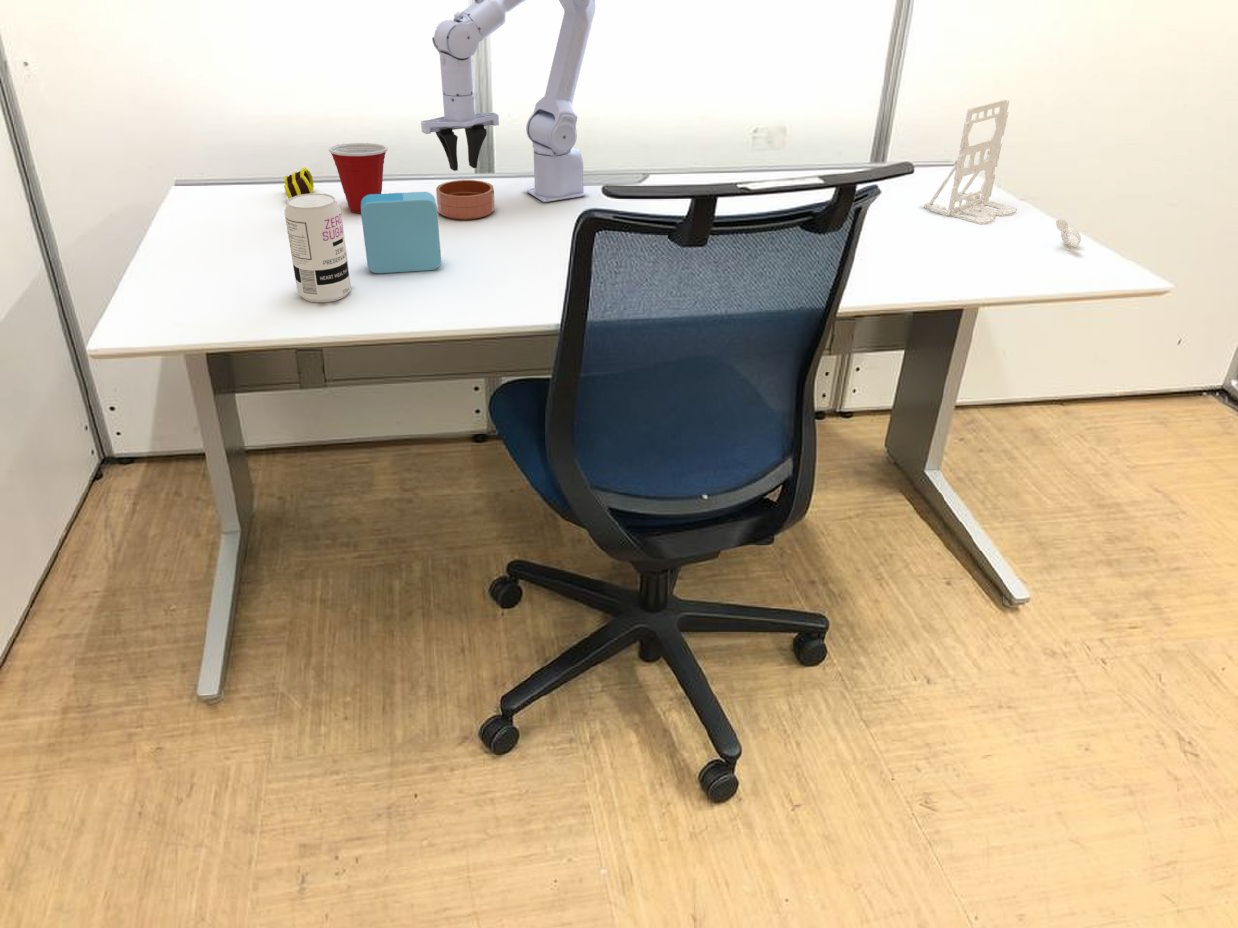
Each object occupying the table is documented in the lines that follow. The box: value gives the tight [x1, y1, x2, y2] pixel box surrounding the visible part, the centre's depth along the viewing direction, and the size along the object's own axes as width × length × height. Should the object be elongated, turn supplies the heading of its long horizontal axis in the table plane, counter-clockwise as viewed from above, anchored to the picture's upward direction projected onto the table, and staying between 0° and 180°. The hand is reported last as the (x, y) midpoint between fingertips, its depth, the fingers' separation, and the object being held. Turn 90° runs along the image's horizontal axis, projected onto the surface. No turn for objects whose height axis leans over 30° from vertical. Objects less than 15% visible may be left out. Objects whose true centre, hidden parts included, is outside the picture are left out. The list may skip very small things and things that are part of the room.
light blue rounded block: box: [360, 191, 442, 274], centre depth 166 cm, size 12×4×12 cm, turn 102°
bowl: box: [435, 179, 496, 221], centre depth 193 cm, size 11×11×5 cm
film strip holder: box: [923, 99, 1018, 225], centre depth 194 cm, size 14×14×20 cm
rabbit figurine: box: [1055, 218, 1082, 251], centre depth 181 cm, size 6×4×8 cm
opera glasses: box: [283, 167, 315, 200], centre depth 200 cm, size 10×5×5 cm, turn 15°
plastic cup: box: [328, 142, 389, 214], centre depth 192 cm, size 11×11×12 cm
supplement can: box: [284, 192, 352, 303], centre depth 155 cm, size 8×8×15 cm
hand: (463, 168), depth 190 cm, fingers open, 3 cm apart
